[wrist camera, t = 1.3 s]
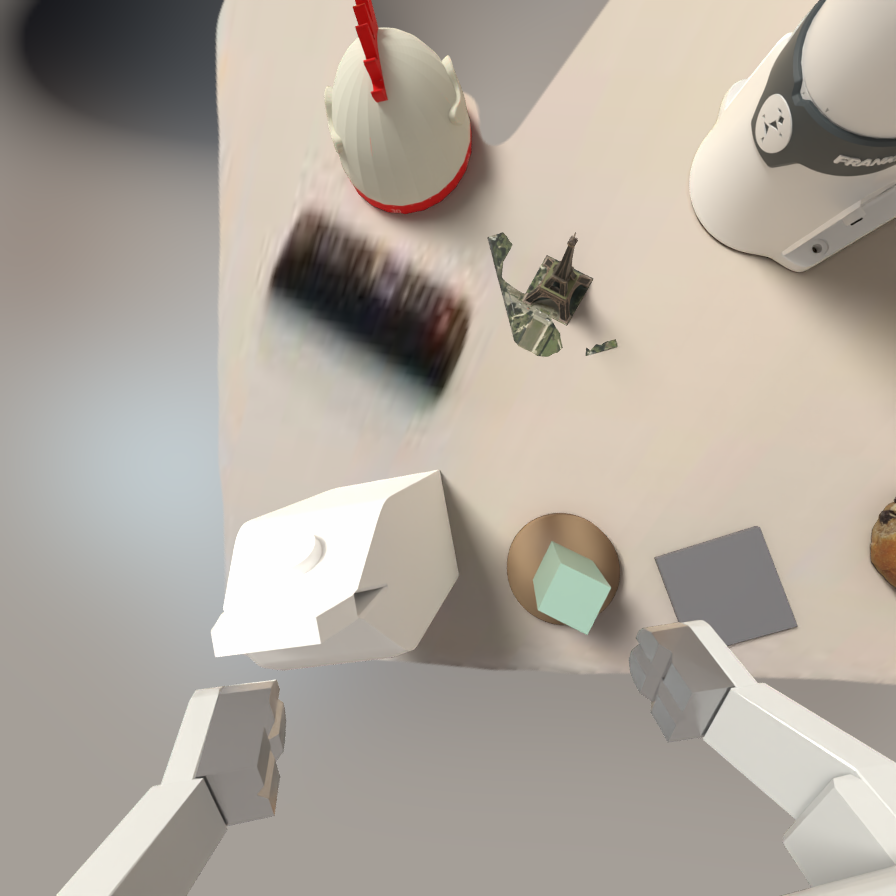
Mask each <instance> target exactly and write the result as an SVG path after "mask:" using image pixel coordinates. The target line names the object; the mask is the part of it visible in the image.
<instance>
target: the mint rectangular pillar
mask: <svg viewBox="0 0 896 896" xmlns="http://www.w3.org/2000/svg"><path fill="white" fill-rule="evenodd" d="M533 584H534V590H535V596H536V602H537V608H538V610H539V611H541V612H543V613H545V614H547V615H549V616H551V617H553V618H555V619H556V620H558V621H560V622H562V623H564V624H566V625H568V626H570V627H572V628H574V629H576V630H578V631H580V632H582V633H584V634H586V635H588V633H589V631H590V629H591V627H592V625H593V623H594V621H595V619H596V617H597V615H598V613H599V611H600V609H601V607H602V605H603V603H604V601H605V599H606V597H607V595H608V593H609V591H610V589H611V587H610V585H609V584H608V582H607V581H606V579H605V578H604V576H603V575H602V573H601V572H600V571H599V569H598V568H597V566H596V565H595V563H594V562H593V561H592V560H590V559H588V558H586V557H584V556H582V555H580V554H578V553H576V552H574V551H572V550H569V549H567V548H565V547H563V546H561V545H559V544H557V543H555V542H553V541H551V543H550V546H549V548H548V550H547V552H546V554H545V556H544V558H543V560H542V562H541V564H540V566H539V568H538V570H537V572H536V574H535V576H534V578H533Z"/></svg>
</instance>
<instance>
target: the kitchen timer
mask: <svg viewBox="0 0 896 896" xmlns="http://www.w3.org/2000/svg"><path fill="white" fill-rule="evenodd" d="M355 2H356V5H357V6H353V9H354V12H355V15H356V18H357V21H358V24H359V25H358V26H355V27H356V31H357V34H358V38H357V39H356V40H355V41H354V42H353V43H352V44H351V45H350V46H349V47H348V49H347V51H346V53H345V54H344V56H343V58H342V60H341V61H340V64H339V66H338V70H337V74H336V77H335V81H334V85H333V87H330V86H327V87H326V89H325V95H324V98H325V107H326V113H327V119H328V125H329V130H330V134H331V137H332V140H333V143H334V146H335V149H336V152H337V153H339V157H340V161H341V164H342V167H343V169H344V171H345V173H346V174H347V176H348V178H349V179H350V181H351V182H352V184H353V185H354V187H355V189H356V190H357V192H358V193H359V195H361V196H362V197H363V198H364V199H365V200H366V201H368V202H369V203H370V204H371V205H372V206H375V207H377V208H380V209H382V210H384V211H387V212H392V213H403V214H408V213H412V212H417V211H422V210H425V209H427V208H429V207H431V206H433V205H435V204H437V203H439V202H440V201H442V200H443V199H444V198H445V197H446V196H447V195H448V194H449V193H450V192H451V191H452V190H454V189H455V188H456V186H457V184H458V183H459V181H460V179H461V178H462V176H463V175H464V173H465V171H466V168H467V165H468V162H469V158H470V155H471V134H472V133H471V125H470V120H469V116H468V112H467V109H466V102H465V98H464V94H463V91H462V88H461V86H460V83H459V81H458V78H457V76H456V73H455V70H454V67H453V65H452V62H451V59H450V57H449V56H446V57H445V58H444V59H443V60H442V61H441V60H440V58H439V57H438V55H437V54H436V53H435V52H434V51H433V50H432V49H431V48H429V47H428V46H427V45H426V44H424V43H423V42H422V41H421V40H419V39H418V38H417V37H415V36H414V35H412V34H409V33H406V32H404V31H401V30H398V29H395V28H378V26H377V22H376V18H375V14H374V10H373V6H372V2H371V0H355Z"/></svg>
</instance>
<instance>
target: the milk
mask: <svg viewBox="0 0 896 896" xmlns="http://www.w3.org/2000/svg"><path fill="white" fill-rule="evenodd" d="M458 577H459V572H458V567H457V561H456V556H455V551H454V545H453V540H452V534H451V529H450V523H449V518H448V512H447V507H446V502H445V496H444V491H443V485H442V480H441V474H440V470H435V471H429V472H424V473H418V474H413V475H407V476H401V477H396V478H390V479H384V480H379V481H373V482H368V483H362V484H356V485H351V486H345V487H340V488H334V489H331V490H329V491H326V492H324V493H321V494H318V495H316V496H313V497H310V498H308V499H305V500H302V501H300V502H297V503H294V504H292V505H289V506H287V507H284V508H281V509H279V510H276V511H273V512H271V513H268V514H265V515H263V516H260V517H257V518H255V519H252V520H249V521H248V522H246V523H245V524H243V526H242V527H241V528H240V530H239V533H238V535H237V538H236V542H235V547H234V552H233V558H232V563H231V569H230V574H229V580H228V585H227V591H226V596H225V602H224V608H223V609H224V611H225V612H224V613H222V614H221V616H220V617H219V619H218V621H217V622H216V624H215V625H214V627H213V629H212V630H211V635H212V641H213V646H214V652H215V657H221V656H228V655H236V654H244V653H246V654H247V655H248V656H249V657H250V658H251V659H252V660H253V661H254V662H255V663H256V664H257V665H259V666H260V667H263V668H267V669H275V670H290V669H291V670H292V669H300V668H308V667H317V666H325V665H334V664H342V663H350V662H359V661H367V660H375V659H384V658H392V657H395V656H398V655H401V654H404V653H406V652H409V651H412V650H414V649H415V648H416V647H417V646H418V644H419V642H420V641H421V639H422V637H423V635H424V634H425V632H426V630H427V629H428V627H429V625H430V624H431V622H432V620H433V619H434V617H435V615H436V614H437V612H438V610H439V609H440V607H441V605H442V604H443V602H444V600H445V599H446V597H447V595H448V594H449V592H450V590H451V589H452V587H453V585H454V583H455V582H456V580H457V578H458Z"/></svg>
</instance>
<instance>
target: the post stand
mask: <svg viewBox="0 0 896 896" xmlns="http://www.w3.org/2000/svg"><path fill="white" fill-rule="evenodd" d="M551 541H553V542H555V543H557V544H559V545H561V546H563V547H565V548H567V549H569V550H572V551H574V552H576V553H578V554H580V555H582V556H584V557H586V558H588V559H590V560H592V561H593V562H594V563H595V565H596V566H597V568H598V569H599V571H600V572H601V573H602V575H603V576H604V578H605V579H606V581H607V582H608V584H609V585H610V587H611V589H610V591H609V593H608V595H607V597H606V599H605V601H604V603H603V605H602V607H601V609H600V611H599V613H598V614H600V613H601V612H602V611H603V610H604V609H605V608H606V607H607V606H608V605H609V603H610V602H611V601H612V599H613V597H614V596H615V593H616V591H617V588H618V584H619V578H620V566H619V560H618V556H617V553H616V551H615V549H614V547H613V545H612V543H611V542H610V540H609V539H608V538H607V536H606V535H605V534H604V533H603V532H602V531H601V530H600V529H599V528H598V527H597V526H595V525H594V524H593V523H591V522H590V521H588V520H586V519H584V518H582V517H579V516H576V515H572V514H566V513H554V514H548V515H544V516H541V517H538V518H536V519H534V520H532V521H531V522H529V523H528V524H527V525H525V526H524V527H523V528H522V529H521V530H520V531H519V532H518V534H517V535H516V536H515V538H514V540H513V542H512V544H511V546H510V549H509V553H508V559H507V575H508V581H509V584H510V587H511V589H512V592H513V594H514V596H515V597H516V599H517V600H518V602H519V603H520V604H521V605H522V606H523V607H524V608H525V609H526V610H527V611H528V612H529V613H531V614H532V615H533V616H535V617H537V618H539V619H541V620H543V621H545V622H549V623H552V624H558V625H566V624H564V623H562V622H560V621H558V620H556V619H555V618H553V617H551V616H549V615H547V614H545V613H543V612H541V611H539V610H538V608H537V602H536V596H535V590H534V584H533V578H534V576H535V574H536V572H537V570H538V568H539V566H540V564H541V562H542V560H543V558H544V556H545V554H546V552H547V550H548V548H549V546H550V543H551Z"/></svg>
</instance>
